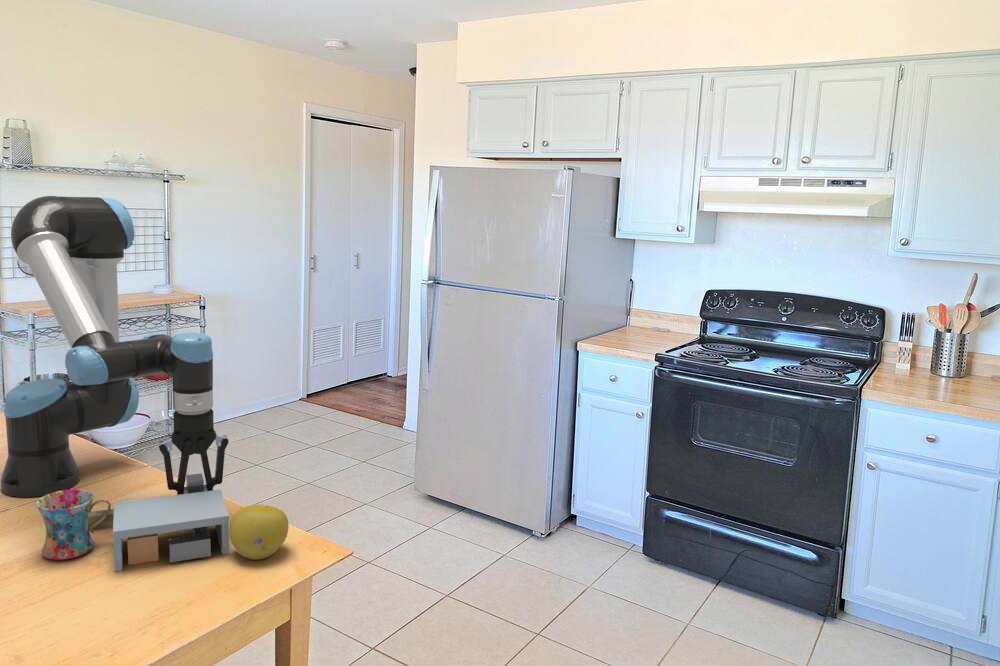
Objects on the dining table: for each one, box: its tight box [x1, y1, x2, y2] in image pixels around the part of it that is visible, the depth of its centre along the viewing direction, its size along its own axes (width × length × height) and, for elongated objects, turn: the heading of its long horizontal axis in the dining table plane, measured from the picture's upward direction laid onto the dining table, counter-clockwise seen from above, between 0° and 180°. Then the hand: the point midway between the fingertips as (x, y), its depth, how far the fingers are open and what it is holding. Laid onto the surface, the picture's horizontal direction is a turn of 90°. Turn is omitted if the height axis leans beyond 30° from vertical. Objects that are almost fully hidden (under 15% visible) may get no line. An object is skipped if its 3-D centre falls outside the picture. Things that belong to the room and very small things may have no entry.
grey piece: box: [168, 473, 212, 563], centre depth 143 cm, size 19×7×9 cm, turn 27°
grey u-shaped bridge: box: [112, 489, 230, 573], centre depth 139 cm, size 13×19×8 cm
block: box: [127, 533, 159, 565], centre depth 136 cm, size 5×5×5 cm
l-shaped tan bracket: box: [88, 508, 114, 531], centre depth 145 cm, size 10×3×7 cm, turn 117°
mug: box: [35, 488, 112, 561], centre depth 136 cm, size 12×9×11 cm
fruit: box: [229, 503, 289, 561], centre depth 139 cm, size 10×11×10 cm
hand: (195, 517), depth 151 cm, fingers closed on grey piece, 3 cm apart
